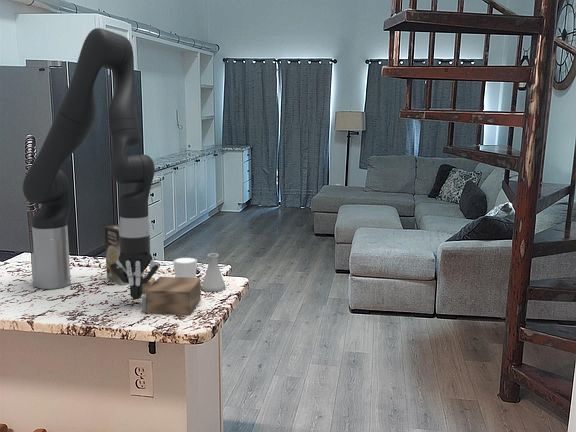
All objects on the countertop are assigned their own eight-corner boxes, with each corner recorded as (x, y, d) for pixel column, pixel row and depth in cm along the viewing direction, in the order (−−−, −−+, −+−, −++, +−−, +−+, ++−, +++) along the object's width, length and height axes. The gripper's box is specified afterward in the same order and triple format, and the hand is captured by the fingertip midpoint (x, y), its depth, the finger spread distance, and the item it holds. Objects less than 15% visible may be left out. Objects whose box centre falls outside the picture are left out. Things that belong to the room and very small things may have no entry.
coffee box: (105, 278, 172) (103, 226, 169) (124, 274, 176) (122, 223, 173) (122, 285, 165) (120, 231, 162) (141, 281, 170) (139, 227, 167)
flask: (221, 293, 160) (221, 258, 158) (196, 291, 161) (196, 256, 160) (229, 285, 167) (229, 252, 165) (205, 284, 168) (205, 250, 166)
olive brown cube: (136, 293, 158) (136, 281, 158) (141, 289, 162) (140, 277, 162) (150, 294, 158) (150, 281, 158) (155, 289, 162) (154, 277, 162)
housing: (146, 313, 143) (145, 290, 142) (160, 297, 155) (159, 276, 154) (190, 315, 143) (189, 292, 142) (200, 299, 154) (200, 278, 153)
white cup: (175, 279, 172) (174, 257, 170) (198, 279, 172) (197, 257, 171) (172, 286, 165) (171, 263, 164) (196, 286, 166) (196, 263, 164)
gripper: (164, 231, 150) (165, 294, 153) (114, 229, 150) (116, 292, 154) (156, 237, 142) (157, 304, 145) (103, 235, 143) (106, 302, 146)
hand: (136, 298), depth 150 cm, fingers closed
